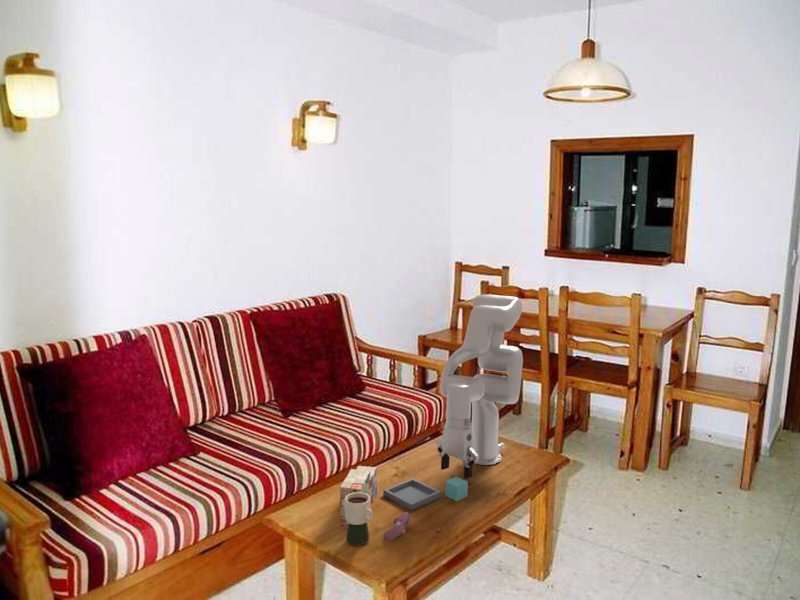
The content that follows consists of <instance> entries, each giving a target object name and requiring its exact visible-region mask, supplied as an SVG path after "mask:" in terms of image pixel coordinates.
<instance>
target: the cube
mask: <svg viewBox="0 0 800 600" xmlns="http://www.w3.org/2000/svg"><path fill="white" fill-rule="evenodd" d="M468 484H469V481H467V480H465V479H462V478H461V477H458V476H454V477H452V478H450V479H448V480H446V481H445V493H444V495H445V497H448V498H450V499H451V500H454V501H455V502H458V501H460V500H463V499H464V498H467V497H468V493H469V491H468V490H469V489H468V488H469V485H468Z"/></svg>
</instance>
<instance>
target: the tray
mask: <svg viewBox="0 0 800 600" xmlns="http://www.w3.org/2000/svg"><path fill="white" fill-rule="evenodd" d="M382 492H383V495H382V496H383V497H384V498H386V499H388V500H390V501H392V502H394V503H395V504H398V505H399V506H401V507H404V508H405V509H407V510H409V511H411V512H412V511H414V510H416V509H419V508H421V507H423V506H425V505H428V504H431V503H432V502H435V501H436V500H438V499H440V498H442V491H441V490H440V489H437V488H434V487H432V486H431V485H428V484H426V483H424V482H422V481H420V480H418V479H417V478H414V477H411V478H409V479H407V480H405V481H403V482H399V483H397V484H395V485H393V486H390V487H387V488H386V489H383V491H382Z"/></svg>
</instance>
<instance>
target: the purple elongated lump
mask: <svg viewBox="0 0 800 600" xmlns="http://www.w3.org/2000/svg"><path fill="white" fill-rule="evenodd" d="M412 518H413V515H412V514H411V513H409V512H406V511H405V512H403V513H401V514H400V515H399V516H397V517H396V518H394V520H393V523H394V525H393V526H392V528H390V529H389V530H386V531H385V532H384V533H383V539H384V540H386V541H391V540H394V539H396V538H399V537H400V535H401V534H402V535H403V534H405V533H406V527H407V525H408V524H409V523H410V521H411V519H412Z"/></svg>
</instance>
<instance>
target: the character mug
mask: <svg viewBox="0 0 800 600" xmlns="http://www.w3.org/2000/svg"><path fill="white" fill-rule="evenodd" d="M343 508H344V509H345V520H346V522H348V523H349V524H348V526H347V529H346V530H347V531H346V538H345V539H346V542H347V543H348V544H350V545H352V546H358V545H363V544H365V543H368V542H369V540H370V537H369V536H370V535H369V528H368V526H369V525H368V522H372V521H373V510H372V504H371V503H370V496H369V495H368V494H366V493H361V492H356V493H351V494H348V495H347V496H346V497H345V498H344V500H343Z"/></svg>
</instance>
